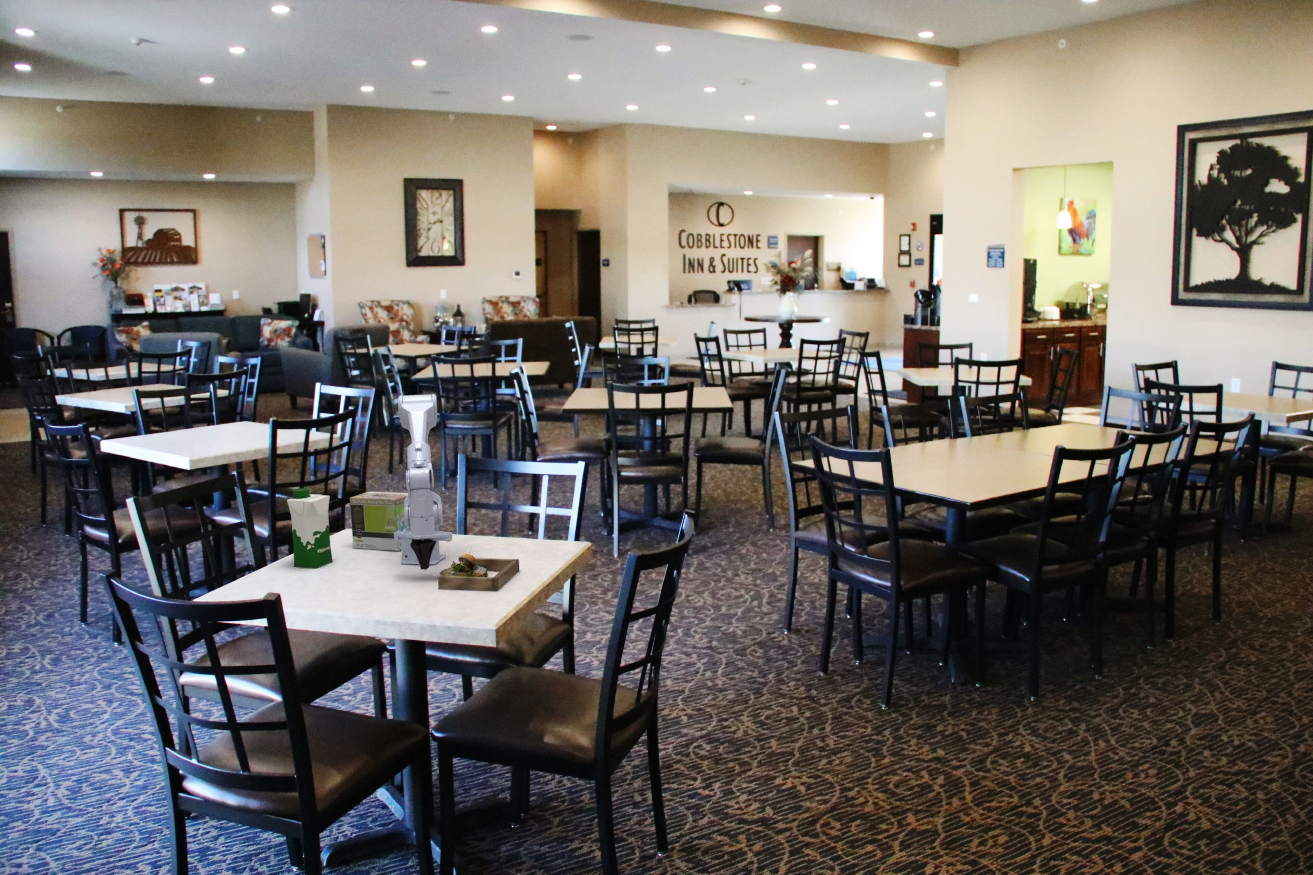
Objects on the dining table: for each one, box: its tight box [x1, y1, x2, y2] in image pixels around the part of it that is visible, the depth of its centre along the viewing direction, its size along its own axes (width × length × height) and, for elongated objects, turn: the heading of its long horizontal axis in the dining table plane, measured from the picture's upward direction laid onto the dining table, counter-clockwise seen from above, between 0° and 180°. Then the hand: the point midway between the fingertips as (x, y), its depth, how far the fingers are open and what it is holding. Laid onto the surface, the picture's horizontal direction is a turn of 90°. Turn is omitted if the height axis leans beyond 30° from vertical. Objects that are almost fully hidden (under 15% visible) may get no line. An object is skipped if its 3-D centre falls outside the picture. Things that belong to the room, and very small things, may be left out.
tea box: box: [349, 491, 410, 552], centre depth 289 cm, size 15×10×15 cm
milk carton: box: [286, 487, 333, 569], centre depth 271 cm, size 9×9×20 cm
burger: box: [439, 548, 489, 577], centre depth 257 cm, size 12×12×8 cm
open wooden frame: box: [437, 557, 520, 592], centre depth 255 cm, size 15×17×3 cm
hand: (424, 568), depth 258 cm, fingers closed
